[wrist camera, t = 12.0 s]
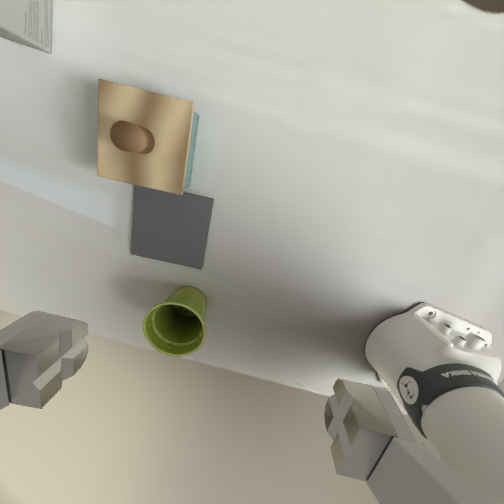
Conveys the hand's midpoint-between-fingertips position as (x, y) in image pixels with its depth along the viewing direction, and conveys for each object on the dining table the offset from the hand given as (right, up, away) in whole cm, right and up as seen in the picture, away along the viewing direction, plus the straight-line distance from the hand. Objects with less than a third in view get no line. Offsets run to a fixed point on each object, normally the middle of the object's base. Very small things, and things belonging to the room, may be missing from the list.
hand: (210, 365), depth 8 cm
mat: (-12, +8, +32) cm, 35 cm away
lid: (-12, +18, +23) cm, 32 cm away
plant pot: (-10, -5, +36) cm, 38 cm away
